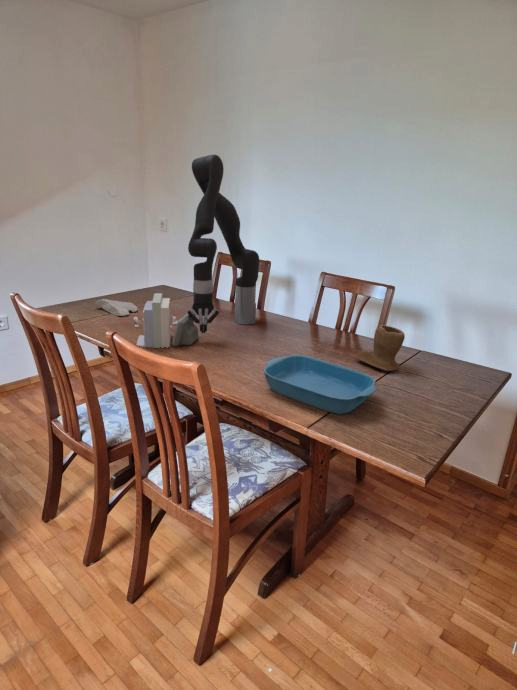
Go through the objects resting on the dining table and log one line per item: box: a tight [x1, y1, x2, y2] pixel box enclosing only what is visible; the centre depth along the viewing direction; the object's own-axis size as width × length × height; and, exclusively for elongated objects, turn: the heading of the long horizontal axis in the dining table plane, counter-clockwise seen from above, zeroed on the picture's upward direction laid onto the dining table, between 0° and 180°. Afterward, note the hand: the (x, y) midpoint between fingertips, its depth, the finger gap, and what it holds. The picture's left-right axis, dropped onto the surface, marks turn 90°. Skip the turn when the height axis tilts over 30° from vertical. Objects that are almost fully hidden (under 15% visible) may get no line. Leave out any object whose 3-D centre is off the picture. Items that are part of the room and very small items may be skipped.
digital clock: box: [171, 311, 199, 347], centre depth 179 cm, size 16×9×11 cm, turn 157°
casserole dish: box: [263, 354, 377, 415], centre depth 141 cm, size 37×22×7 cm, turn 52°
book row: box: [135, 292, 172, 349], centre depth 176 cm, size 13×14×18 cm
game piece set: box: [133, 316, 179, 331], centre depth 200 cm, size 19×20×4 cm
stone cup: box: [354, 324, 406, 372], centre depth 163 cm, size 15×12×15 cm
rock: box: [94, 298, 139, 317], centre depth 216 cm, size 21×5×15 cm
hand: (203, 332), depth 180 cm, fingers closed
